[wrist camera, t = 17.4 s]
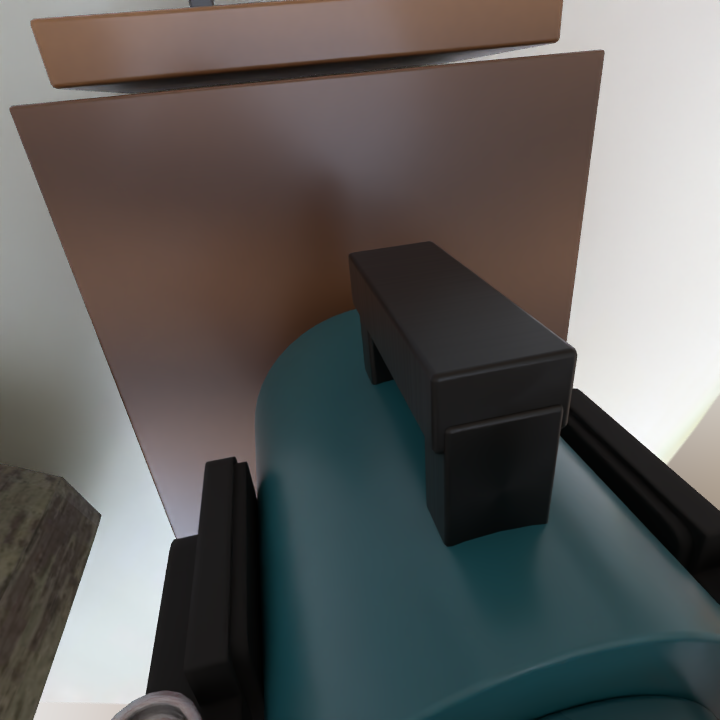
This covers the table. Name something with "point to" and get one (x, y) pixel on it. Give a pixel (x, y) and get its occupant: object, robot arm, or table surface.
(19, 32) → the table surface
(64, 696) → the table surface
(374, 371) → the kettle
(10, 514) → the green bell
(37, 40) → the drawer
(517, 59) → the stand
